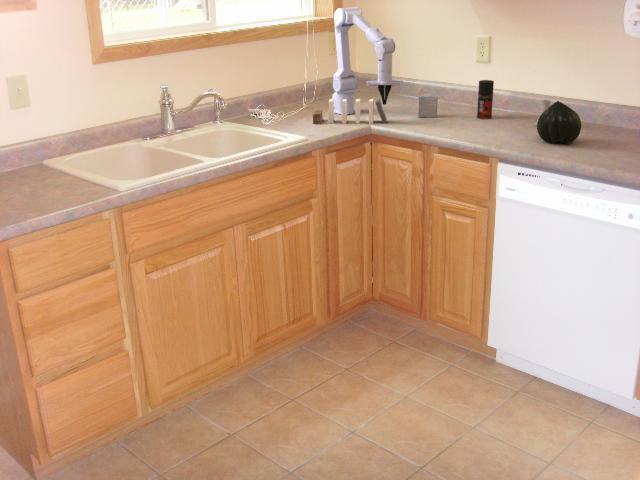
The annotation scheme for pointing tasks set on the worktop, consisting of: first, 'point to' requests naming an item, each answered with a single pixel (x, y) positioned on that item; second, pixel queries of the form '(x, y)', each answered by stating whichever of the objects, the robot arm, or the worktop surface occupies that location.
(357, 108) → the domino
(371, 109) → the domino
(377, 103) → the domino
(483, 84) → the deodorant
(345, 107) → the domino
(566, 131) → the squash
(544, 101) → the flask
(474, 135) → the worktop surface
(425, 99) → the medicine box
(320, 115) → the block
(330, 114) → the domino
